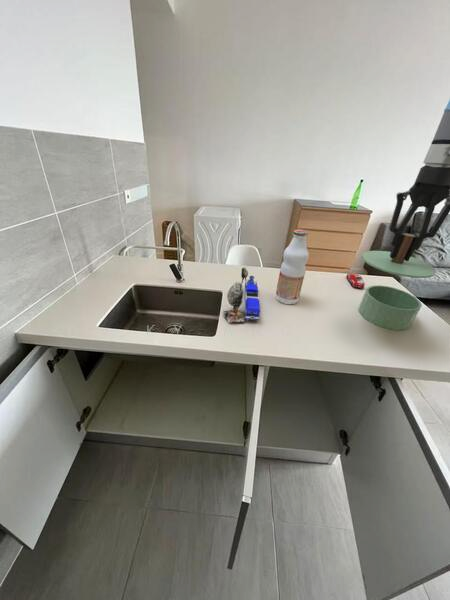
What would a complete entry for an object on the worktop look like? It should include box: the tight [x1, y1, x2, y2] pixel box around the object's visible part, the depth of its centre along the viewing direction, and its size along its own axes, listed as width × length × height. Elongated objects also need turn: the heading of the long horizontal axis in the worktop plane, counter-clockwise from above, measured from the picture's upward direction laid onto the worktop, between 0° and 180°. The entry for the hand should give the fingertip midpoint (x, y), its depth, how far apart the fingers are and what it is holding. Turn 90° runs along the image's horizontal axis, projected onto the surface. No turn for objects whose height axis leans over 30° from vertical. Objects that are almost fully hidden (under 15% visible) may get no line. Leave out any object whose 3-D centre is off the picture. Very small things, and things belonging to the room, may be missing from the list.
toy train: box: [244, 275, 261, 321], centre depth 93 cm, size 5×25×8 cm, turn 177°
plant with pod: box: [222, 267, 249, 324], centre depth 83 cm, size 8×11×20 cm
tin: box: [358, 284, 423, 331], centre depth 91 cm, size 18×18×8 cm
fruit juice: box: [275, 229, 310, 305], centre depth 93 cm, size 9×9×28 cm
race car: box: [346, 272, 366, 289], centre depth 115 cm, size 13×5×4 cm, turn 170°
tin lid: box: [361, 232, 437, 279], centre depth 69 cm, size 19×19×9 cm
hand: (398, 257), depth 71 cm, fingers closed on tin lid, 3 cm apart
